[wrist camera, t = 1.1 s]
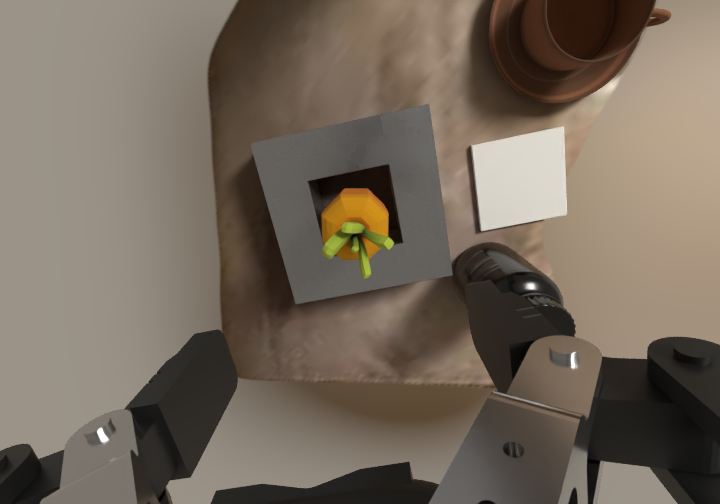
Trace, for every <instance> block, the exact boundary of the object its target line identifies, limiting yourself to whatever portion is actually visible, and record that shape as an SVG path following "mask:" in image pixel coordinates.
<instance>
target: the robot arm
mask: <svg viewBox="0 0 720 504" xmlns="http://www.w3.org/2000/svg"><path fill="white" fill-rule="evenodd" d="M465 293H466V300H467V308H468V315H469V323H470V330H471V335H472V339H473V342H474V345H475V348H476V350H477V352H478V354H479V356H480V358H481V360H482V362H483V363H484V365H485V367H486V369H487V371H488V373H489V375H490V377H491V379H492V381H493V383H494V385H495V386H496V388H497V390H498V391H493V392H491V394H490V395H489V396H488V398H487V400H486V402H485V403H484V405H483V407H482V409H481V410H480V413H479V414H478V416H477V418H476V420H475V421H474V423H473V425H472V427H471V428H470V430H469V432H468V434H467V436H466V437H465V439H464V441H463V443H462V445H461V446H460V448H459V450H458V452H457V454H456V455H455V457H454V459H453V461H452V463H451V465H450V466H449V468H448V470H447V472H446V473H445V475H444V477H443V479H442V481H441V482H440V484H436V483H433V482H428V481H423V480H417V479H413V477H412V472H411V468H410V463H409V462H405V463H398V464H391V465H385V466H378V467H371V468H365V469H359V470H357V471H354V472H352V473H349V474H346V475H344V476H342V477H339V478H336V479H333V480H331V481H328V482H326V483H323V484H321V485H318V486H315V487H312V488H295V487H286V486H277V485H267V484H258V485H252V486H245V487H238V488H231V489H226V490H219V491H216V492H215V495H214V497H213V500H212V502H211V504H597V500H598V494H599V488H600V482H601V476H602V469H603V464H604V461H606V462H615V463H622V464H630V465H639V466H646V467H650V469H651V470H652V471H653V473H654V474H655V475H656V476H657V478H658V479H659V480H660V482H661V483H662V484H663V485H664V487H665V488H666V489H667V490H668V492H669V493H670V494H671V496H672V497H673V498H674V499H675V501H676V502H677V503H678V504H720V345H718V344H715V343H713V342H709V341H706V340H701V339H696V338H688V337H667V338H662V339H658V340H656V341H654V342H652V343H651V344H650V345H649V346H648V351H647V359H625V358H608V357H602V354H601V352H600V350H599V349H598V348H597V347H596V346H594V345H593V344H591V343H590V342H588V341H585V340H582V339H579V338H576V337H571V336H563V335H562V334H561V333H560V332H559V331H558V330H557V329H556V328H555V327H554V326H553V325H552V324H551V323H550V322H549V321H548V320H547V319H546V318H545V317H544V316H543V315H541V313H540V312H539V311H538V310H537V309H536V308H534V306H533V305H532V304H531V303H530V302H529V301H528V300H527V299H526V298H525V297H522V296H520V295H518V294H515V293H513V292H508V293H501V292H500V290H499V289H498V288H497V287H496V286H495V285H494V284H493V282H492V281H491V280H487V281H481V282H476V283H470V284H466V285H465ZM237 381H238V378H237V371H236V367H235V365H234V362H233V359H232V356H231V354H230V351H229V348H228V345H227V342H226V340H225V337H224V335H223V333H222V332H221V331H220V330H213V331H207V332H202V333H196V334H194V335H193V336H192V337H191V338H190V340H189V341H188V342H187V343H186V344H185V345H184V346H183V348H182V349H181V350H180V351H179V352H178V353H177V354H176V355H175V356H173V357H172V358H171V359H169V360H168V361H167V362H166V363H165V364H164V365H163V366H162V367H161V368H160V369H159V370H158V372H157V374H156V375H154V376H153V377H152V378H151V380H150V381H149V384H146V385H145V386H144V387H143V389H142V390H141V391H140V392H139V393H138V394H137V395H136V396H135V398H134V399H133V400H132V401H131V402H130V403H129V404H128V406H126V408H125V409H124V410H116V411H112V412H109V413H106V414H104V415H101V416H99V417H97V418H95V419H94V420H92V421H90V422H89V423H87V424H86V425H84V426H83V427H81V428H80V429H79V430H78V431H77V432H76V433H74V434H73V436H71V437H70V439H69V440H68V441H67V443H66V445H65V449H64V450H62V451H59V452H57V453H54V454H51V455H49V456H46V457H43V458H40V459H38V458H37V456H36V454H35V453H34V451H33V449H32V448H31V446H30V445H28V444H20V445H15V446H12V447H9V448H6V449H4V450H1V451H0V504H173V503H172V499H171V496H170V494H169V492H168V489H167V487H166V486H167V484H168V482H169V481H170V480H175V479H182V478H189V477H191V475H192V473H193V471H194V470H195V468H196V466H197V464H198V462H199V460H200V458H201V456H202V454H203V452H204V450H205V448H206V446H207V444H208V442H209V441H210V439H211V437H212V435H213V433H214V431H215V429H216V426H217V425H218V423H219V421H220V419H221V417H222V415H223V413H224V411H225V410H226V408H227V406H228V403H229V402H230V400H231V398H232V396H233V394H234V392H235V390H236V387H237Z"/></svg>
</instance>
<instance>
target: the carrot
mask: <svg viewBox="0 0 720 504" xmlns="http://www.w3.org/2000/svg"><path fill="white" fill-rule="evenodd" d="M321 218H322V242H323V243H324V246H323V248H322V254H323V255H324V256H325V257H326V258H329V259H332V258H333V257H334V255H335V254H336V255H337V256H338V257H339V258H340V259H341V260H359V265H360V271H361V275H362V279H366V278H368V277H369V276H370V275H371V269H370V264H369V259H370V258H371V257H372V256H373V255H374V254H375V253H376V252H377V251H379V250H380V249H381V248H383V249H386V250H390V249H391V248H392V246H393V244H394V242H393V241H392V239H390V238H389V237H388V220H389V213H388V211H387V209H386V207H385V206H384V204H383V203H382V202H381V201H380V200H379V199H378V198H377V197H376V196H375V195H374V194H373V193H372V192H371V191H370V190H369V189H368V188H344V189H343V191H342V192H341V193H340V194H339V195H338V196H337V197H336V198H335V199H334V200H333V201H332V202H331V203H330V204H329V205H328V206H327V207H326V208H325V209H324V211H323V212H322V214H321Z"/></svg>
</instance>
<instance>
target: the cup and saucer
mask: <svg viewBox="0 0 720 504" xmlns="http://www.w3.org/2000/svg"><path fill="white" fill-rule="evenodd" d="M655 2H656V0H494V1H493V4H492V8H491V13H490V19H489V43H490V49H491V53H492V57H493V60H494V62H495V65H496V67H497V69H498V71H499V73H500V74H501V76H502V77H503V79H504V80H505V81H506V82H507V83H508V84H509V85H510V86H511V87H512V88H513V89H514V90H516V91H517V92H518V93H520V94H522V95H523V96H525V97H527V98H530V99H532V100H535V101H539V102H544V103H566V102H571V101H575V100H578V99H581V98H583V97H586V96H588V95H590V94H592V93H594V92H595V91H597V90H599V89H600V88H602V87H603V86H604V85H605V84H607V83H608V82H609V81H610V80H611V79H612V78H614V77H615V76H616V75H617V73H618V72H619V71H620V70H621V69H622V68H623V66H624V65H625V64H626V63H627V61H628V59H629V58H630V56H631V55H632V53H633V51H634V49H635V48H636V45H637V43H638V41H639V39H640V36H641V33H642V32H643V30H644V29H645V27H648V26H654V25H658V24H662V23H664V22H666V21H668V20H669V19H670V17H671V13H670V12H669V11H667V10H664V9H654V6H655ZM650 17H656V18H652V19H650Z"/></svg>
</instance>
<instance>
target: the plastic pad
mask: <svg viewBox="0 0 720 504" xmlns="http://www.w3.org/2000/svg"><path fill="white" fill-rule="evenodd" d="M471 155H472V164H473V173H474V182H475V191H476V200H477V209H478V218H479V227H480V230H481V231H485V230H490V229H496V228H501V227H506V226H511V225H516V224H522V223H527V222H532V221H537V220H543V219H548V218H552V217H558V216H563V215H567V200H566V172H565V144H564V126H562V127H556V128H552V129H547V130H542V131H537V132H533V133H528V134H523V135H518V136H514V137H509V138H504V139H499V140H494V141H490V142H485V143H480V144H475V145H471Z"/></svg>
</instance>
